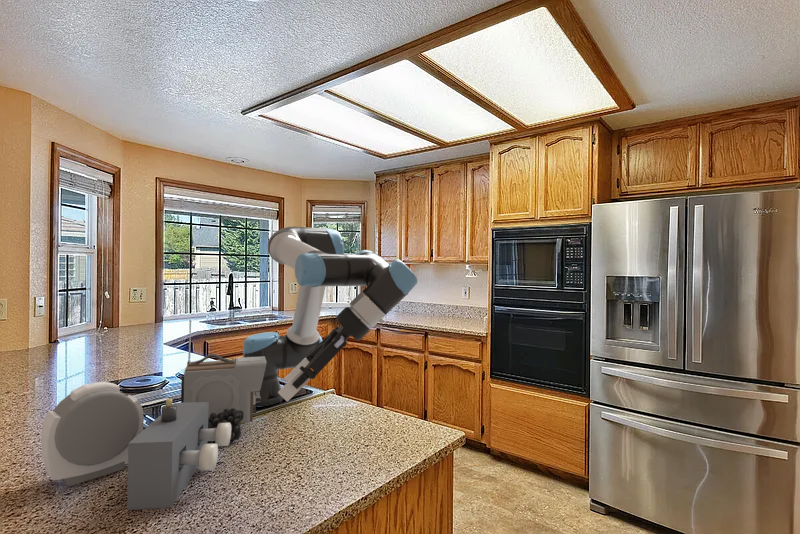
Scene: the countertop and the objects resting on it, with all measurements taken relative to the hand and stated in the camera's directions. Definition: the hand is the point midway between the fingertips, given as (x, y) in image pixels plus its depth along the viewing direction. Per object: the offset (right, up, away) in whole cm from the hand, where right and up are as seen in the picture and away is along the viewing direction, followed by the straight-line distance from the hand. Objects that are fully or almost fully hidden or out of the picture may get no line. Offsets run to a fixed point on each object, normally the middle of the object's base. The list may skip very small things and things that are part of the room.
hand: (285, 389), depth 92 cm
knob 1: (-20, -16, +9) cm, 27 cm away
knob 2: (-18, -16, -3) cm, 25 cm away
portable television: (-29, -20, +38) cm, 52 cm away
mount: (-26, -21, +2) cm, 33 cm away
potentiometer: (-27, -8, +2) cm, 28 cm away
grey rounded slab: (-44, -20, +4) cm, 49 cm away
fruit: (-25, -21, +23) cm, 40 cm away
